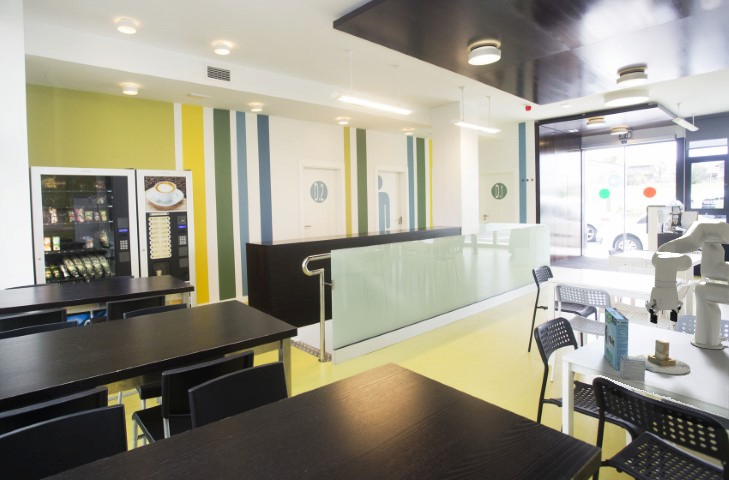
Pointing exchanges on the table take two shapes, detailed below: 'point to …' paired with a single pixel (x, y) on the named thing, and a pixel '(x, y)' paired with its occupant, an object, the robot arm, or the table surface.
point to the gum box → (615, 336)
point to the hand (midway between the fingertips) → (663, 322)
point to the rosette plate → (665, 365)
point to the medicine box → (632, 368)
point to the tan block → (662, 350)
